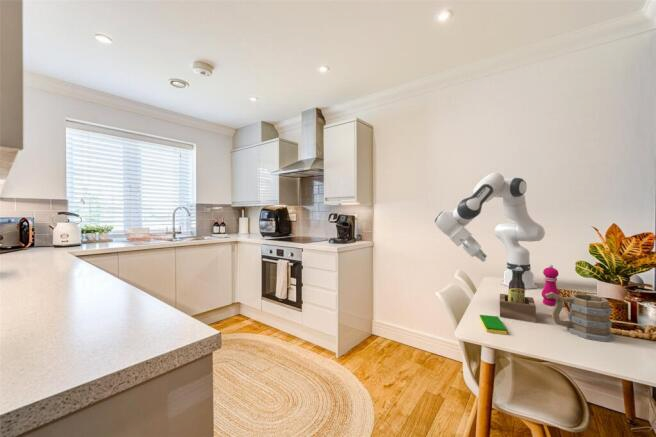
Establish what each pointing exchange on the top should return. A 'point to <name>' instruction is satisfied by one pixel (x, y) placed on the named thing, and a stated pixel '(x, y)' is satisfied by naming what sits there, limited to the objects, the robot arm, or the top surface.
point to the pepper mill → (550, 285)
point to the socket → (518, 309)
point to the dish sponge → (493, 324)
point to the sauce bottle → (516, 287)
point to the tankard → (585, 316)
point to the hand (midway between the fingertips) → (485, 259)
